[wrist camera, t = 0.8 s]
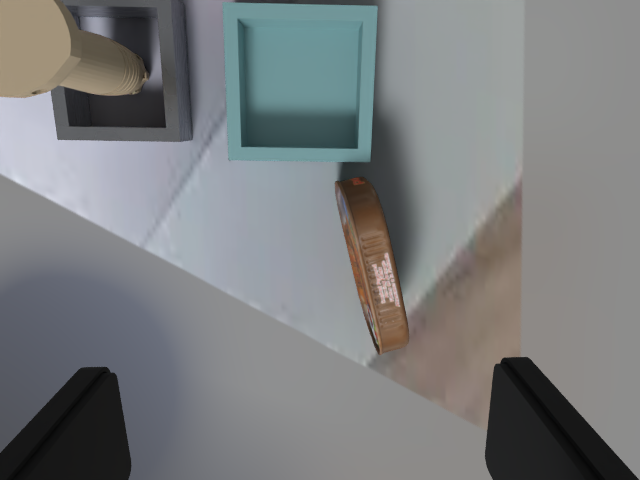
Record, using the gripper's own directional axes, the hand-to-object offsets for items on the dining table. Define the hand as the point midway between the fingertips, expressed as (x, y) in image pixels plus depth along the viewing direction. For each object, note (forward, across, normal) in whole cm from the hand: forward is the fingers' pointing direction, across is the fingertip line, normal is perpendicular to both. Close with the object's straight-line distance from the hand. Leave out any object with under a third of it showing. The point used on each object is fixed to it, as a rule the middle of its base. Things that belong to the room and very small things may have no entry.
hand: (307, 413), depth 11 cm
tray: (+29, +1, -9) cm, 30 cm away
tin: (+29, -5, +5) cm, 30 cm away
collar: (+29, +15, -11) cm, 34 cm away
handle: (+29, +15, -11) cm, 34 cm away
